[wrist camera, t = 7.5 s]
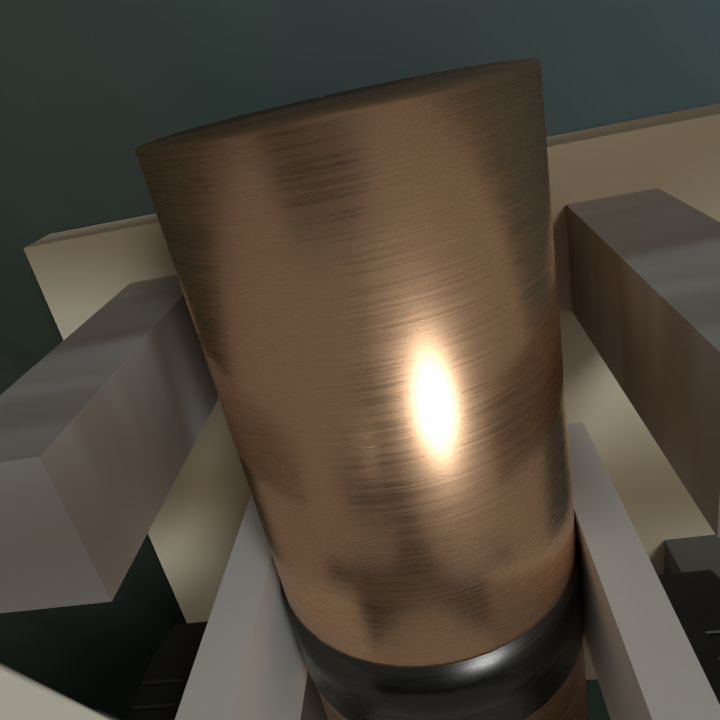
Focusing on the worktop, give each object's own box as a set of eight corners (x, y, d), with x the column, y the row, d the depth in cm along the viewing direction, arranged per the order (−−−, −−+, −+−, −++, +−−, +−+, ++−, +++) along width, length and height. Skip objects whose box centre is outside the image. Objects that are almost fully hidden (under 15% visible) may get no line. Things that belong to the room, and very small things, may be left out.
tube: (525, 698, 17) (654, 907, 13) (349, 775, 17) (422, 1028, 12) (440, 68, 11) (647, 43, 6) (136, 138, 10) (118, 170, 5)
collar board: (50, 233, 13) (-294, 416, 6) (744, 98, 11) (1209, 169, 5) (232, 675, 18) (143, 1007, 12) (714, 634, 16) (908, 999, 10)
